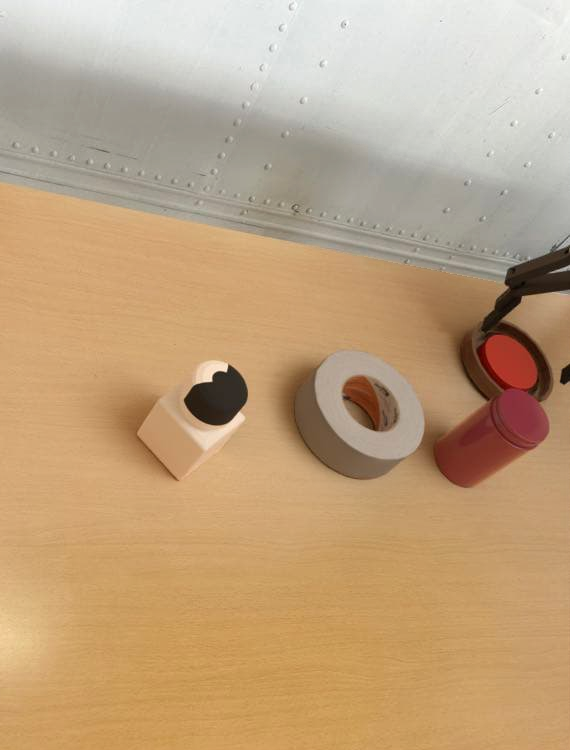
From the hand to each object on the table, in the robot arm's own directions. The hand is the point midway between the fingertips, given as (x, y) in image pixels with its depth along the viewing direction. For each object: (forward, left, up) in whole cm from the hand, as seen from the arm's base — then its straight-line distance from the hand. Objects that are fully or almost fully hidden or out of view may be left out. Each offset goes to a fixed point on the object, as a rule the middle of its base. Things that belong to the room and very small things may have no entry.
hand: (523, 351), depth 109 cm
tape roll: (+19, +25, -5) cm, 32 cm away
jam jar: (+3, +20, -5) cm, 21 cm away
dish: (0, 0, -5) cm, 5 cm away
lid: (0, 0, -3) cm, 3 cm away
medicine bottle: (+37, +41, -5) cm, 55 cm away
